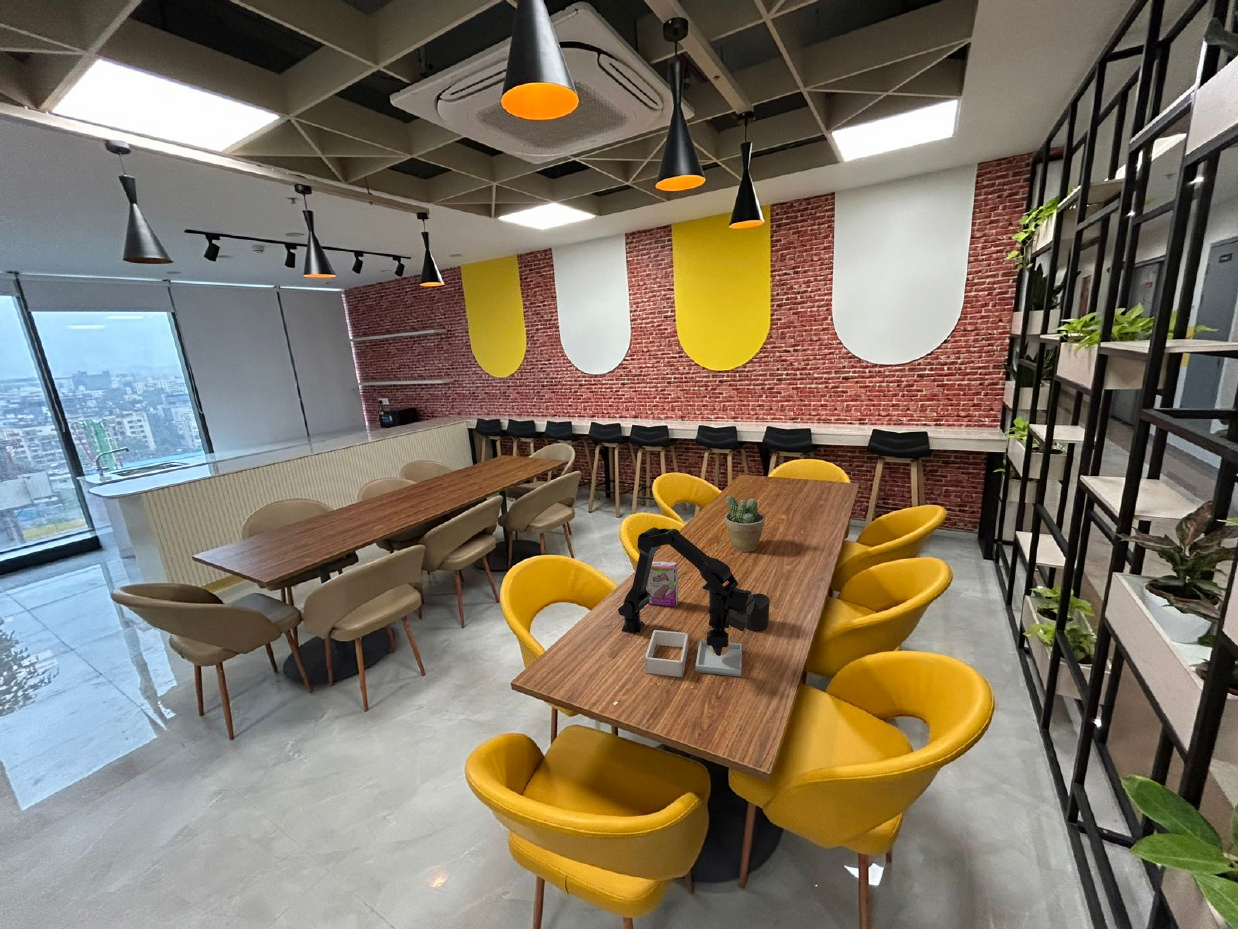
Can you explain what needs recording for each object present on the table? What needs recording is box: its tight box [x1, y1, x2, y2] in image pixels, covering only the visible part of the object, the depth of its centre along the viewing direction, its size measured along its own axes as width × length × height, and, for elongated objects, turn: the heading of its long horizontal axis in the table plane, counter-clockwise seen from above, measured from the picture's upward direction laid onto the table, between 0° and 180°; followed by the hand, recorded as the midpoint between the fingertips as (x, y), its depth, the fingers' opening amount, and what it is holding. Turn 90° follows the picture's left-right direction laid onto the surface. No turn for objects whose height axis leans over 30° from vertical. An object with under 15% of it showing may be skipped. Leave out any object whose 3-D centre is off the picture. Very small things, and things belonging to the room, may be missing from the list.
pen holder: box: [745, 593, 771, 632], centre depth 171 cm, size 9×9×10 cm
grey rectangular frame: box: [644, 629, 690, 678], centre depth 156 cm, size 15×11×5 cm
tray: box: [695, 639, 743, 678], centre depth 155 cm, size 13×13×2 cm
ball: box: [710, 641, 730, 655], centre depth 153 cm, size 6×6×6 cm
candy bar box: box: [646, 560, 679, 608], centre depth 189 cm, size 11×5×16 cm, turn 74°
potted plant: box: [724, 495, 766, 553], centre depth 232 cm, size 18×19×25 cm
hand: (719, 649), depth 154 cm, fingers closed on ball, 6 cm apart
